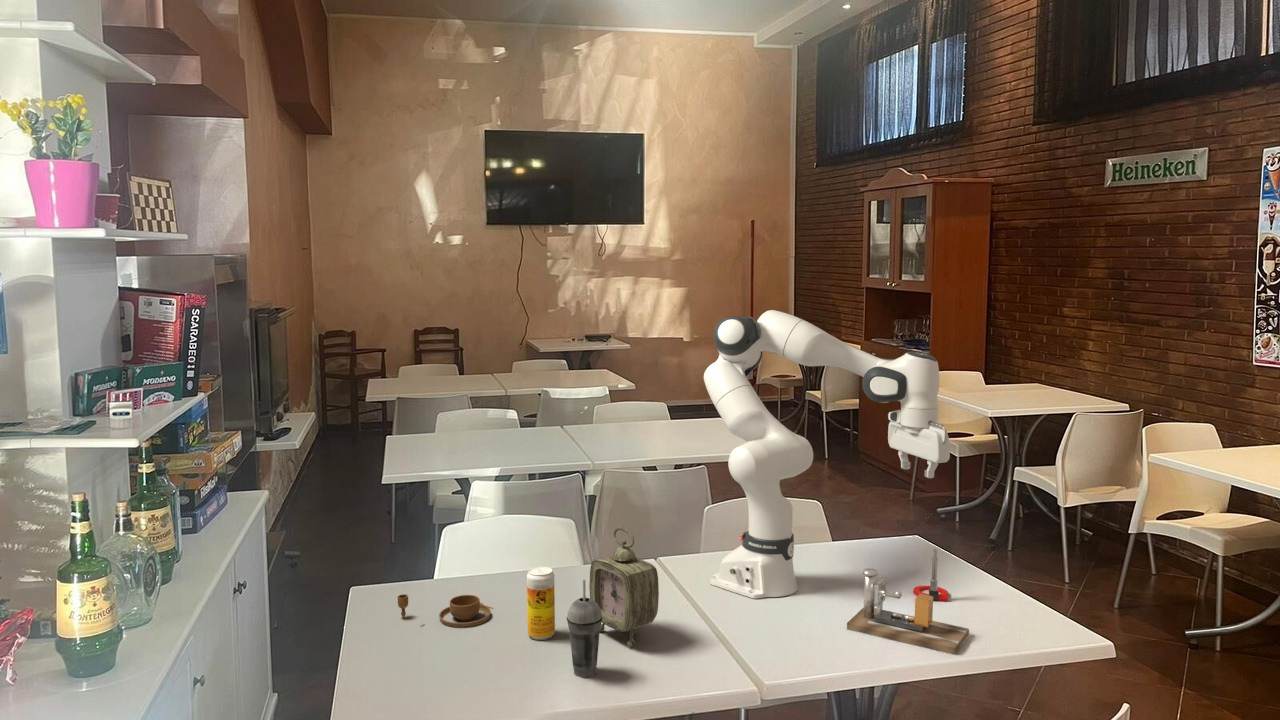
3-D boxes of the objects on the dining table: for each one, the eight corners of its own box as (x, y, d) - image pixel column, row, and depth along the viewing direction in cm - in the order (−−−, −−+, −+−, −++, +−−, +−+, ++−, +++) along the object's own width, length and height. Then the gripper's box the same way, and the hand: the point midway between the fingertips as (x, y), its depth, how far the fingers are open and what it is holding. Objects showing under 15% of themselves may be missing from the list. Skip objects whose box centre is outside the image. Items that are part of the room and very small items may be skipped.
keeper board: (846, 629, 205) (847, 621, 205) (864, 611, 215) (865, 604, 215) (954, 654, 192) (955, 646, 192) (968, 635, 202) (969, 627, 202)
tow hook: (910, 588, 231) (916, 600, 222) (912, 539, 231) (918, 549, 221) (944, 590, 230) (951, 602, 221) (946, 541, 229) (953, 551, 220)
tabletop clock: (589, 631, 204) (589, 524, 201) (620, 621, 210) (620, 516, 207) (630, 652, 193) (630, 539, 190) (661, 641, 199) (662, 531, 196)
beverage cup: (602, 663, 188) (602, 571, 185) (602, 680, 180) (602, 584, 178) (567, 664, 187) (567, 571, 185) (566, 680, 180) (565, 584, 178)
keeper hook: (859, 617, 208) (861, 571, 207) (864, 613, 210) (865, 567, 209) (898, 626, 203) (899, 579, 202) (902, 621, 206) (904, 574, 204)
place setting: (460, 639, 201) (459, 614, 200) (393, 622, 211) (392, 597, 210) (507, 612, 216) (507, 588, 216) (442, 597, 226) (442, 574, 225)
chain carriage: (873, 621, 205) (874, 584, 204) (880, 613, 209) (882, 577, 208) (926, 633, 198) (927, 595, 197) (933, 625, 203) (934, 587, 202)
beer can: (529, 642, 198) (528, 576, 196) (525, 631, 204) (524, 567, 202) (557, 639, 200) (556, 574, 198) (552, 628, 206) (551, 565, 204)
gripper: (957, 424, 213) (955, 481, 214) (905, 410, 232) (903, 463, 233) (935, 426, 211) (933, 484, 212) (884, 412, 230) (882, 465, 231)
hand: (917, 473), depth 223 cm, fingers open, 8 cm apart
